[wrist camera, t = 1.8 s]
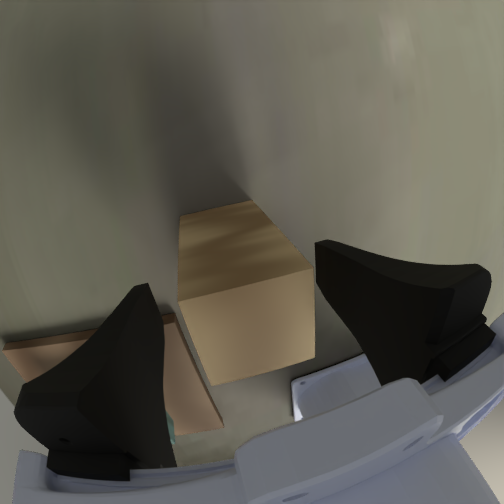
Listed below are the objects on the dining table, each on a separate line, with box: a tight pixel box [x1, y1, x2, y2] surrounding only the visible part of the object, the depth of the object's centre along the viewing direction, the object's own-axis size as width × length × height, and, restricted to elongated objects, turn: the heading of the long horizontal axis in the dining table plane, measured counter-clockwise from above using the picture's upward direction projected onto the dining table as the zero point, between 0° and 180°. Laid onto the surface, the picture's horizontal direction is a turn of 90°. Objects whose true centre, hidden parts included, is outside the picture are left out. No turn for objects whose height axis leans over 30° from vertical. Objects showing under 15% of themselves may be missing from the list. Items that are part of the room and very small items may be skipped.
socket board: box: [2, 313, 224, 444], centre depth 17 cm, size 16×14×4 cm
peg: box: [178, 200, 315, 386], centre depth 12 cm, size 4×4×8 cm
